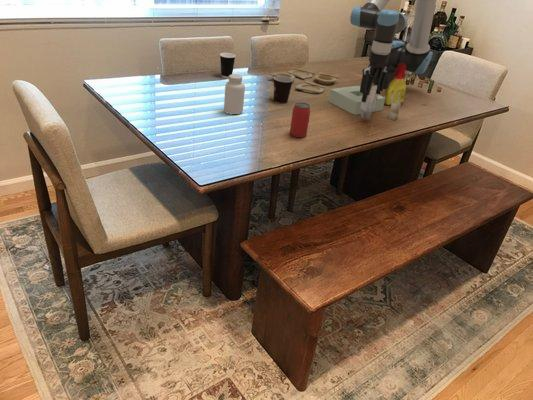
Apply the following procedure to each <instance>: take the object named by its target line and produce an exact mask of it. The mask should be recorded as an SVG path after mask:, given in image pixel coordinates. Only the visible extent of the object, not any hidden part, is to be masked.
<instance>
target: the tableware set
mask: <svg viewBox="0 0 533 400" xmlns="http://www.w3.org/2000/svg"><path fill="white" fill-rule="evenodd" d="M314 74H315V71H313V70H304V69H300V68H295V67H293V68H292V70H289V71H287V72H283V71H281V72H280V71H279V72H278V71H276V72H273V73H272V72H268V75H269V76H272V77H273V78H274V77H276V76H285V77H289V78H291V79H293V80H294V79H295V78H298V79H299V78H300V79H302V80H305V79H310V78H312V77H313V75H314ZM313 78H314V80H316V81H317V82H318V83H314V82H313V81H308V80H305V81H304V83H299V84H297V85H295V87H294V89H296V90H299V91H302V92H304V93H308V94H322V93H323V92H324V90H325V88H326V86H328V85H331V84H332V83H335V82H336V81H337V79H340V78H341V77H340V76H338V75H332V74H329V73H325V72H322V71H319V72H318V74H316V75H314V77H313ZM324 85H326V86H324Z"/></svg>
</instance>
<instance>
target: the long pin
mask: <svg viewBox="0 0 533 400" xmlns="http://www.w3.org/2000/svg"><path fill="white" fill-rule="evenodd" d="M377 86H378V85H377V84H375V83H372V86H371V89H370V91H369V94H368V95H370V96H369V100H368V104H367V109H366V110H363V109H362V112H361V114H360V117H361V118H363V119H370V118H371V115H372V112H371V111H372V107H373V103H374V98H375V94H376V90H377Z"/></svg>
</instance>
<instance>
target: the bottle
mask: <svg viewBox="0 0 533 400" xmlns="http://www.w3.org/2000/svg"><path fill="white" fill-rule="evenodd" d="M405 73H406V64H405V63H399V64H398V66H397V68H396V71H395V74H394V77H393V80H392V81H391V82H390V83H389V84H388V86H387V88H386V89H385V93H384V97H385V102H384V105H387V106H391V104H392V102H399V103H401V104H402V103H403V102H404V98H405V95H406V90H407V85H406V81H405V75H406V74H405Z"/></svg>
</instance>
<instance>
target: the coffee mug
mask: <svg viewBox="0 0 533 400" xmlns="http://www.w3.org/2000/svg"><path fill="white" fill-rule="evenodd" d="M293 81H294V79H291V78H289V77H285V76H276V77H274V76H273V101H274V102H275V103H279V104H286V103H288V101H289V97H290V93H291V90H292V85H293Z"/></svg>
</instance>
